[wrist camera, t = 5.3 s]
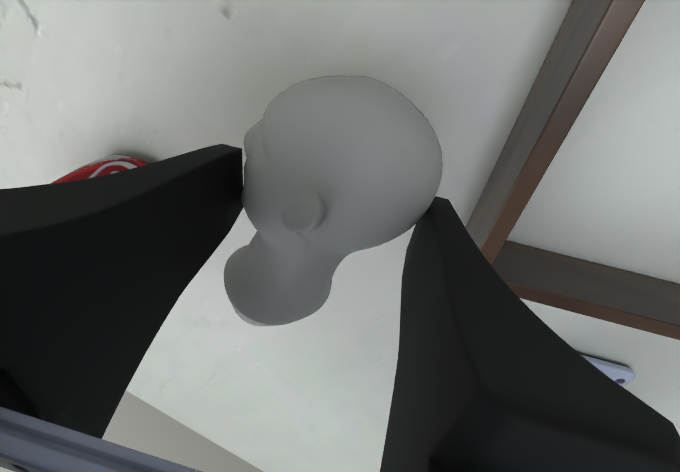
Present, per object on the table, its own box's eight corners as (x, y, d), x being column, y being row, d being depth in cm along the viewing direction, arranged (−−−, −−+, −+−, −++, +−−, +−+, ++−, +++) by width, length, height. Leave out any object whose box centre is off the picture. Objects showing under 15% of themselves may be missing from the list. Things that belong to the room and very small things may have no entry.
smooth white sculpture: (352, 21, 10) (486, 149, 10) (238, 207, 15) (327, 296, 14) (255, -4, 6) (462, 196, 6) (146, 251, 11) (261, 371, 11)
